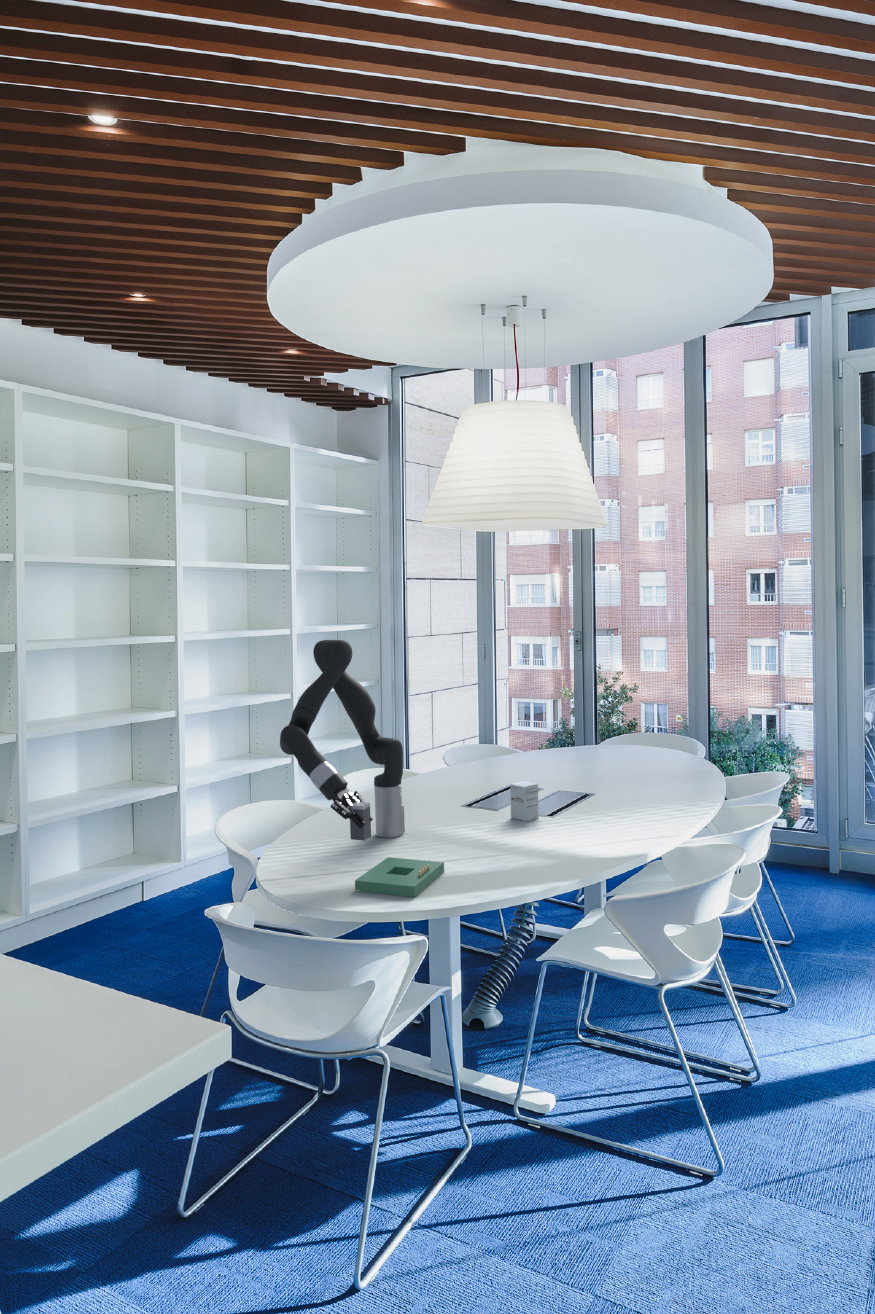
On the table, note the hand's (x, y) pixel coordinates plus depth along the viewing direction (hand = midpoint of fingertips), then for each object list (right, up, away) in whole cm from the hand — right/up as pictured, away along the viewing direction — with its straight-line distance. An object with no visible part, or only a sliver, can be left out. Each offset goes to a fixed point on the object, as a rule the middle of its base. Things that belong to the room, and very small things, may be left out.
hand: (366, 823), depth 253 cm
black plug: (-2, -4, +1) cm, 5 cm away
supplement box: (+52, -10, +62) cm, 81 cm away
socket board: (+10, -16, -3) cm, 19 cm away
